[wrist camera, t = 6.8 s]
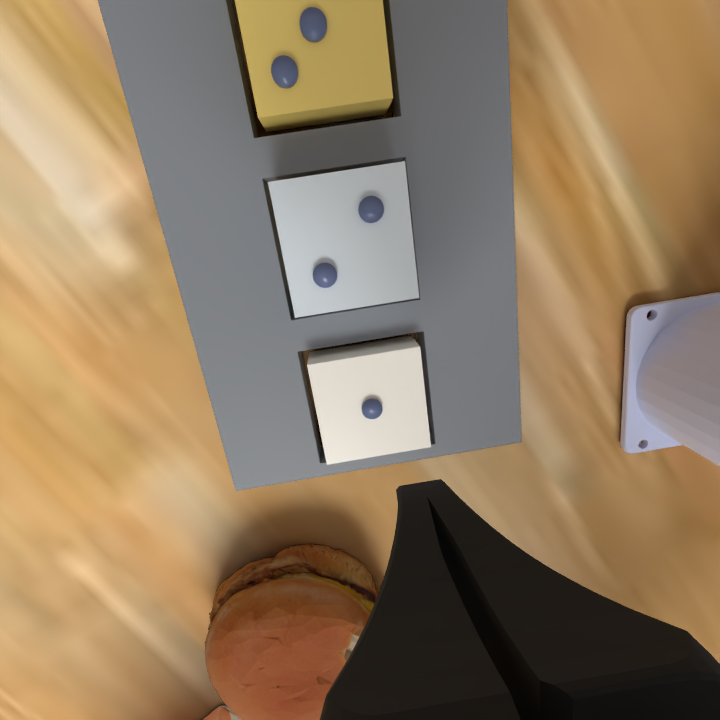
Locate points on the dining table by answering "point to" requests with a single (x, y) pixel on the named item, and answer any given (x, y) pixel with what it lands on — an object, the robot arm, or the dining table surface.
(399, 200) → the tile two
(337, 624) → the burger
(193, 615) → the dining table surface
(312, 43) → the tile three
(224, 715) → the ink box
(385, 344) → the tile one
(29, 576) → the dining table surface
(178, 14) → the board
